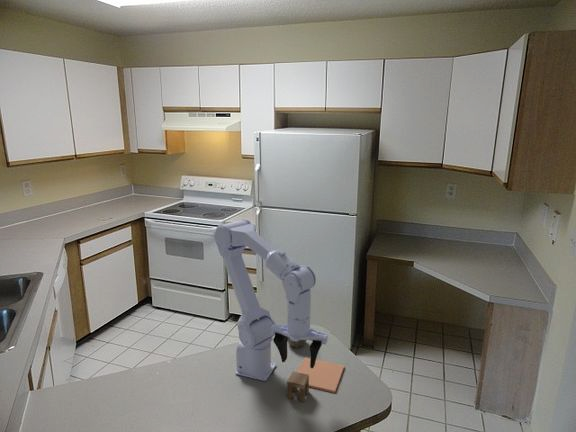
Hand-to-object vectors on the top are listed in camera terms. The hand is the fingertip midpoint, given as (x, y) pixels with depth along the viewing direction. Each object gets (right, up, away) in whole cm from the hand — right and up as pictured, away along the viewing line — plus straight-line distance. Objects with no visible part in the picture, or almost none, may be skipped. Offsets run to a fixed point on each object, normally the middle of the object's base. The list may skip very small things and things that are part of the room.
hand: (298, 363), depth 103 cm
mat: (+6, -7, +10) cm, 14 cm away
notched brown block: (0, -9, +2) cm, 9 cm away
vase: (0, -4, +26) cm, 26 cm away
